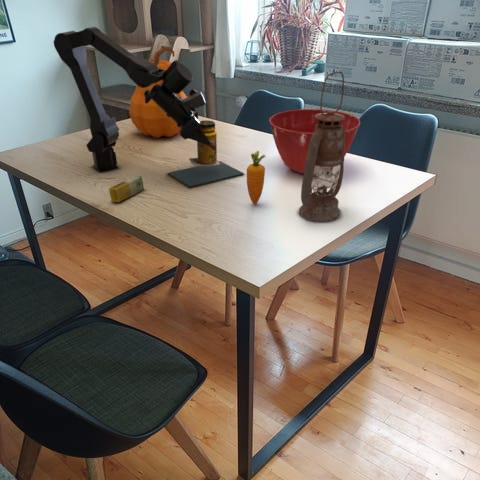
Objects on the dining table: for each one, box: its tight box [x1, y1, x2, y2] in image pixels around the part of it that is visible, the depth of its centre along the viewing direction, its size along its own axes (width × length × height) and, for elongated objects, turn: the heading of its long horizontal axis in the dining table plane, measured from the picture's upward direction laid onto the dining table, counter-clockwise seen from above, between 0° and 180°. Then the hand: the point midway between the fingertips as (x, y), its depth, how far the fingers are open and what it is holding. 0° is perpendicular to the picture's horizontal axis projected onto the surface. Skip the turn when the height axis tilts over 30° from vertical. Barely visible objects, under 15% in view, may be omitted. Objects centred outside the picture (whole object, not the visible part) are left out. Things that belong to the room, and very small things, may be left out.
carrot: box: [246, 150, 266, 206], centre depth 134 cm, size 5×5×15 cm
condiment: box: [188, 119, 220, 167], centre depth 151 cm, size 7×8×12 cm
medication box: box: [108, 175, 145, 203], centre depth 142 cm, size 12×3×4 cm, turn 152°
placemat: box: [167, 160, 244, 189], centre depth 157 cm, size 20×14×1 cm
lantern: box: [298, 71, 345, 223], centre depth 123 cm, size 11×16×35 cm
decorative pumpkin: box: [128, 46, 187, 139], centre depth 185 cm, size 24×24×30 cm
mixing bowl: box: [268, 108, 361, 176], centre depth 158 cm, size 28×28×15 cm
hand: (208, 140), depth 151 cm, fingers closed on condiment, 6 cm apart
